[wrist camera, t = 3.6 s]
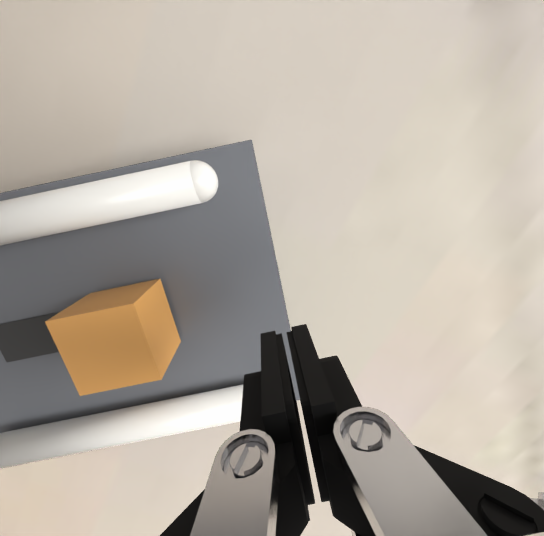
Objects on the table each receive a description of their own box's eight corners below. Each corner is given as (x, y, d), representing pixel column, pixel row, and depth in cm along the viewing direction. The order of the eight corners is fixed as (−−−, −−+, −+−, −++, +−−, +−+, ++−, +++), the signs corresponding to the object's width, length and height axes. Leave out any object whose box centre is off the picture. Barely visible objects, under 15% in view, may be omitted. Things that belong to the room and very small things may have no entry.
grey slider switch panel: (254, 152, 20) (251, 139, 14) (294, 348, 25) (304, 399, 19) (-47, 216, 20) (-170, 229, 15) (46, 398, 25) (-20, 463, 19)
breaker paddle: (160, 278, 16) (133, 303, 12) (180, 341, 17) (161, 379, 14) (90, 292, 16) (45, 321, 13) (115, 354, 17) (79, 396, 14)
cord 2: (267, 372, 18) (267, 394, 16) (273, 398, 19) (274, 422, 17) (-7, 427, 18) (-38, 455, 16) (7, 450, 19) (-21, 480, 17)
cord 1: (215, 158, 15) (208, 154, 13) (224, 198, 15) (219, 199, 13) (-124, 230, 15) (-181, 236, 13) (-103, 266, 15) (-154, 278, 13)
